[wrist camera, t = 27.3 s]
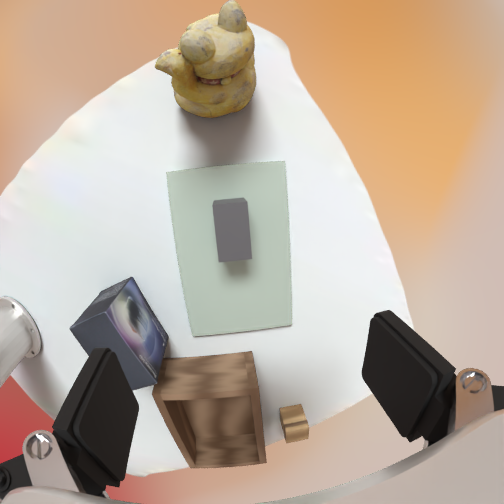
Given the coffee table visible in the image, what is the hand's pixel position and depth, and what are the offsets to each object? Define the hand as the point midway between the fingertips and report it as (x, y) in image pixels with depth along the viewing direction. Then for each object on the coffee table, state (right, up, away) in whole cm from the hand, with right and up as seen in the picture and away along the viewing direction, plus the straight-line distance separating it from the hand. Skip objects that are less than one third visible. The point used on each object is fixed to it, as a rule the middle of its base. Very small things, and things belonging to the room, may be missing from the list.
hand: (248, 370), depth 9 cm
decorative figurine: (-4, +24, +20) cm, 31 cm away
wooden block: (+7, -26, +35) cm, 45 cm away
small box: (-16, -5, +27) cm, 32 cm away
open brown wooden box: (-6, -22, +33) cm, 40 cm away
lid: (-2, +4, +26) cm, 26 cm away
